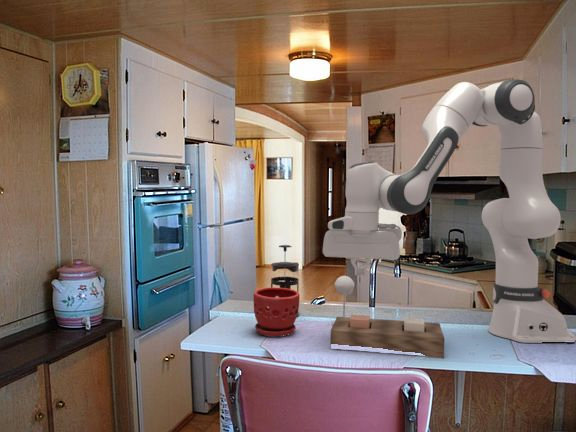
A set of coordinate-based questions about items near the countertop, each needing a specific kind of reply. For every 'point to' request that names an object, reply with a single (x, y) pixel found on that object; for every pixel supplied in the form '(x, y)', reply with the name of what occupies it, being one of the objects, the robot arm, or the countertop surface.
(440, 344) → the brown flat block
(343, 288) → the lollipop
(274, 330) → the plant pot
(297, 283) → the french press
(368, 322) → the terracotta key
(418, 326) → the cream key
